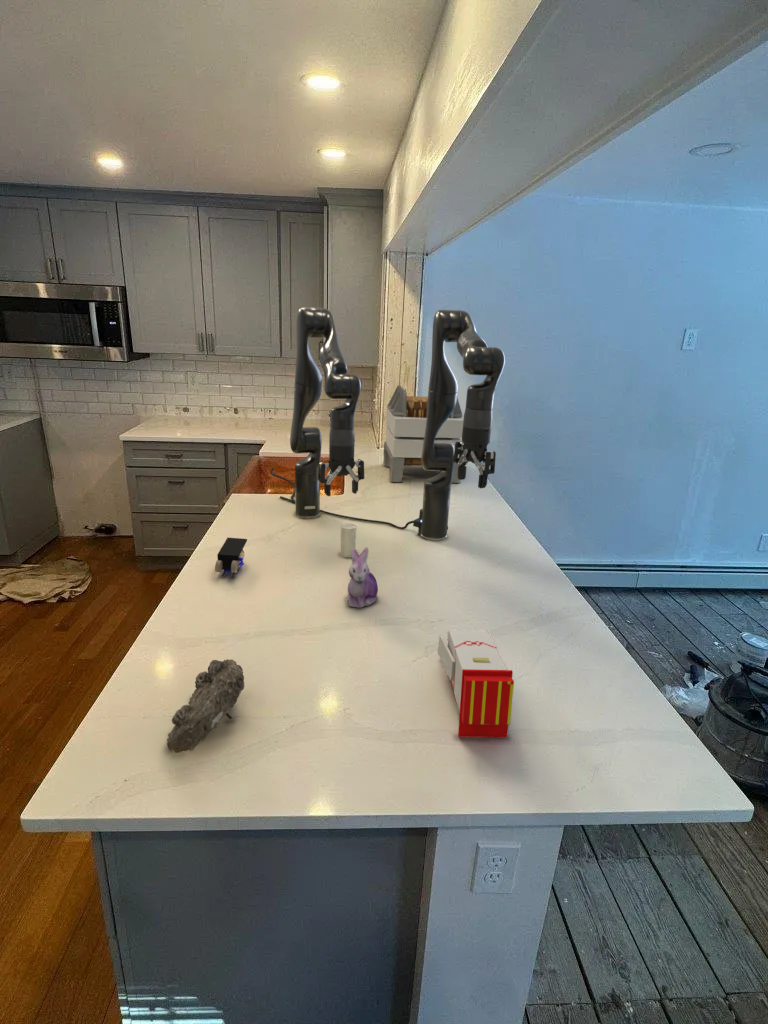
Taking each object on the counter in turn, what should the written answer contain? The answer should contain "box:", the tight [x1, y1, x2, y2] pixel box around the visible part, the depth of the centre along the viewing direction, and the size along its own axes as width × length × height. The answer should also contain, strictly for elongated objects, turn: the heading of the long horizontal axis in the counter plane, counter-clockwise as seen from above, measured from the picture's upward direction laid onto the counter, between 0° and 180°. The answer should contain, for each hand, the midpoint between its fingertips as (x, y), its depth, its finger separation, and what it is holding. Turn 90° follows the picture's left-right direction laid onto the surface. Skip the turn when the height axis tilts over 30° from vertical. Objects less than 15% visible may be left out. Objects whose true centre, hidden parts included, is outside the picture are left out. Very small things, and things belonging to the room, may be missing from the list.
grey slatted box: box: [383, 384, 464, 484], centre depth 268 cm, size 34×33×41 cm
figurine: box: [346, 546, 379, 609], centre depth 151 cm, size 9×10×15 cm
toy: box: [437, 628, 515, 738], centre depth 117 cm, size 12×13×30 cm
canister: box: [339, 522, 357, 558], centre depth 180 cm, size 5×5×10 cm
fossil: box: [166, 658, 245, 754], centre depth 106 cm, size 22×10×15 cm
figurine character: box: [214, 537, 248, 578], centre depth 166 cm, size 7×8×15 cm
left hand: (341, 494), depth 175 cm, fingers open, 8 cm apart
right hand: (471, 483), depth 156 cm, fingers open, 8 cm apart
